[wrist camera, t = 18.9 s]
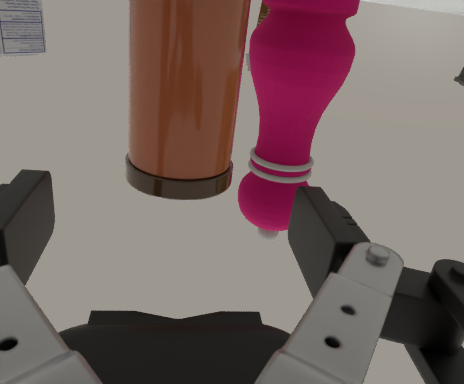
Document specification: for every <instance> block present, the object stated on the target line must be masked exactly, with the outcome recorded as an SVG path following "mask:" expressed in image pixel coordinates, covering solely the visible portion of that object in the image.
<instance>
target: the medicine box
mask: <svg viewBox="0 0 464 384" xmlns="http://www.w3.org/2000/svg"><path fill="white" fill-rule="evenodd" d="M44 53H46V40H45V30H44V18H43V9H42V0H0V56H30V55H38V54H44Z"/></svg>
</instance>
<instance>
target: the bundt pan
mask: <svg viewBox="0 0 464 384" xmlns="http://www.w3.org/2000/svg"><path fill="white" fill-rule="evenodd" d="M454 81H456V82H459V84H461V85H462V86H464V67H463V69H462V71H461V73H460V75H459V76H458V77H455V79H454Z"/></svg>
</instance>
